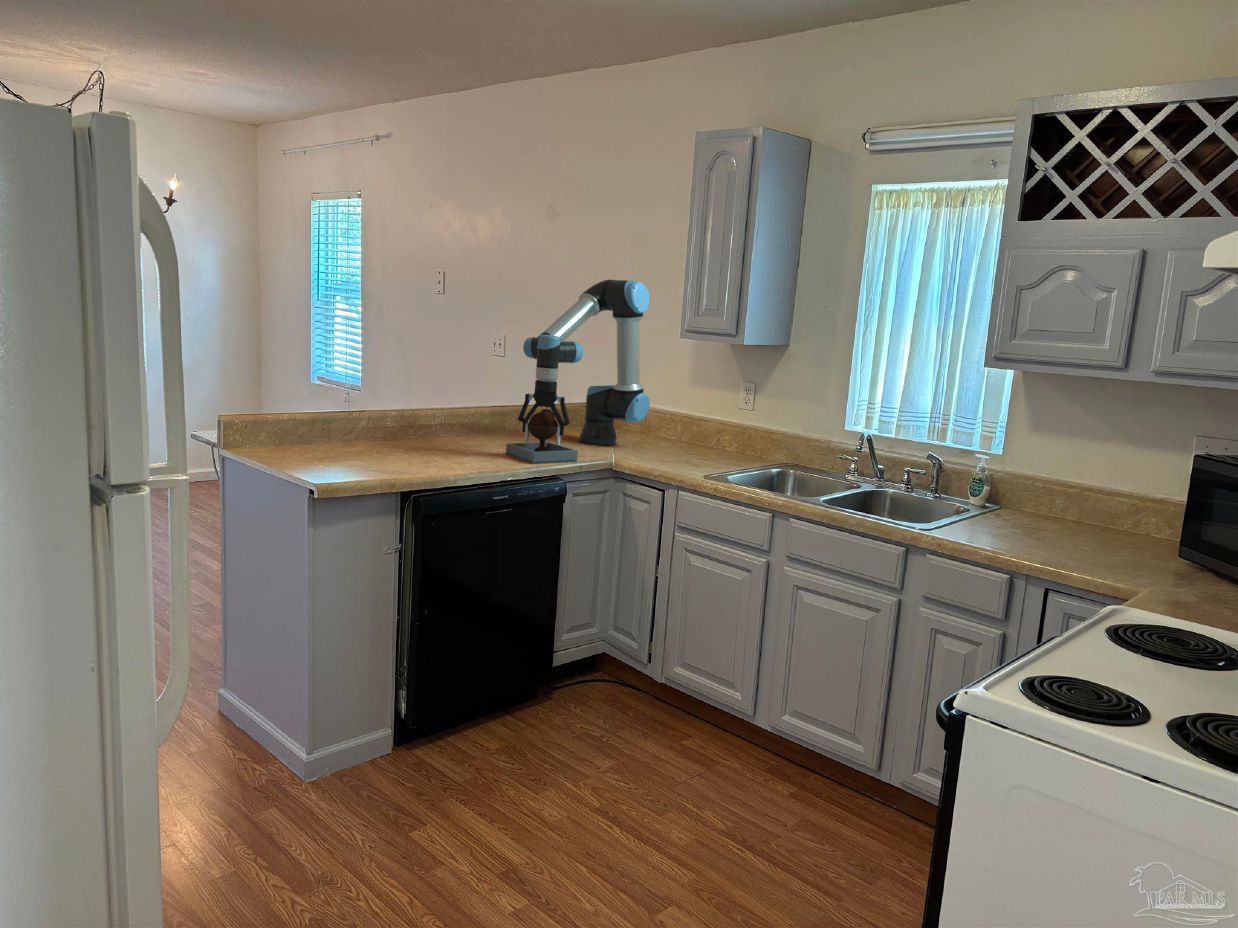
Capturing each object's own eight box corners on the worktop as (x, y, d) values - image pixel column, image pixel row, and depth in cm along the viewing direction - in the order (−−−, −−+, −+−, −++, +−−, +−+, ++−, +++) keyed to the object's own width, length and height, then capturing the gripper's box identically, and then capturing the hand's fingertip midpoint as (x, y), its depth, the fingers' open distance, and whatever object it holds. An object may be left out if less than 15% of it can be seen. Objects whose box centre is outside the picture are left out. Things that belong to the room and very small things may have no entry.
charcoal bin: (548, 452, 320) (549, 441, 320) (576, 461, 306) (577, 450, 306) (505, 454, 309) (506, 443, 308) (533, 464, 295) (533, 452, 295)
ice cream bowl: (559, 450, 312) (562, 408, 310) (553, 455, 301) (556, 411, 299) (530, 447, 313) (532, 405, 311) (523, 452, 302) (525, 409, 300)
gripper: (511, 377, 301) (507, 441, 304) (577, 383, 298) (572, 447, 302) (516, 376, 308) (512, 438, 312) (581, 382, 305) (576, 444, 309)
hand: (542, 443), depth 307 cm, fingers closed on ice cream bowl, 10 cm apart
